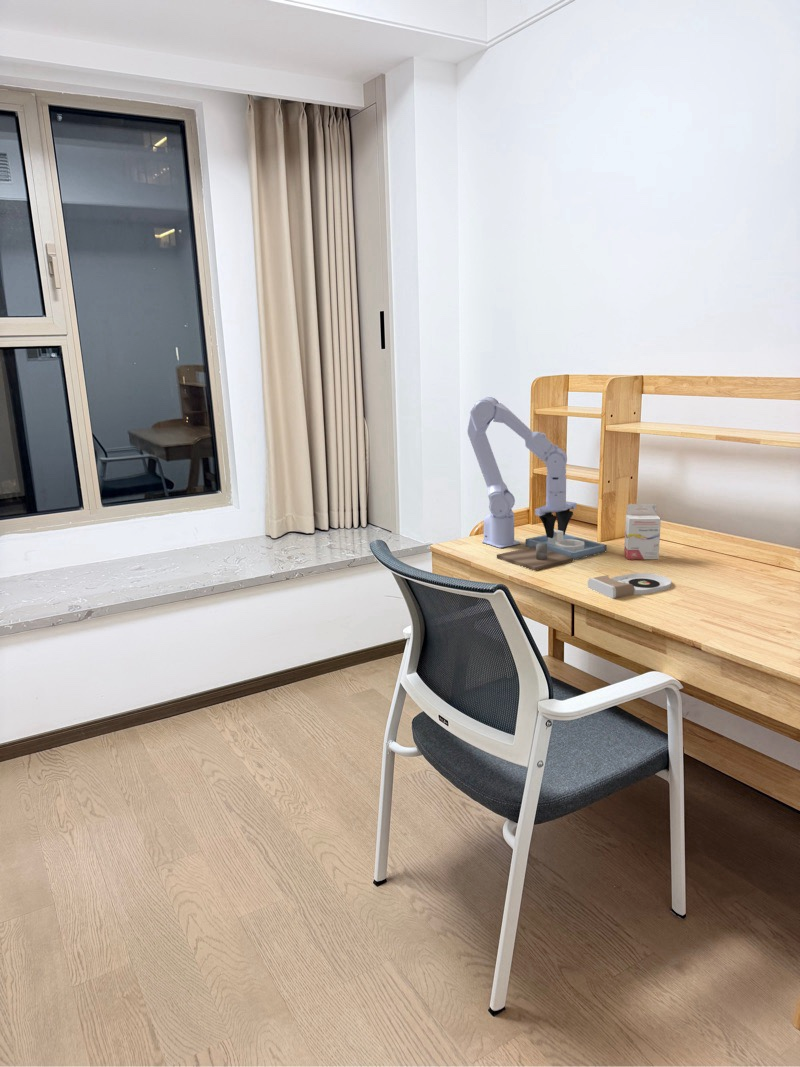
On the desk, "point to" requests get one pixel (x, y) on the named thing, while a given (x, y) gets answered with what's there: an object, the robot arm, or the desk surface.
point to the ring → (565, 542)
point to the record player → (629, 584)
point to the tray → (588, 550)
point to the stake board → (535, 557)
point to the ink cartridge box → (642, 532)
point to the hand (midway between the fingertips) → (555, 536)
